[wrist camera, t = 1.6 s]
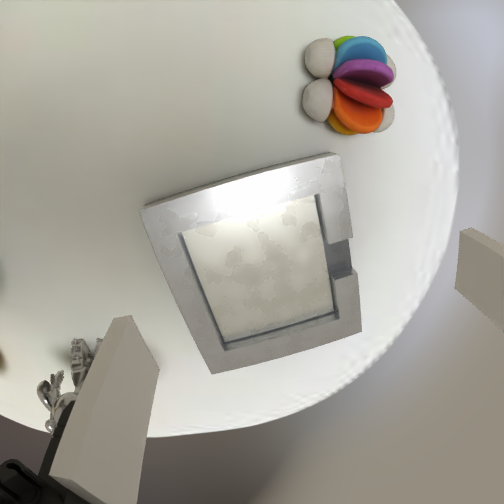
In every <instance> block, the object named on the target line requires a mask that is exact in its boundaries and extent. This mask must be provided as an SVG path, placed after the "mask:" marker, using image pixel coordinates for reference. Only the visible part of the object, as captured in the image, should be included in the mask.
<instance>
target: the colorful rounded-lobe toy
mask: <svg viewBox="0 0 504 504" xmlns="http://www.w3.org/2000/svg"><path fill="white" fill-rule="evenodd" d="M305 64H306V67H307V68H308V70H309V71H310V72H311V73H312V74H313V75H314V76H316V77H317V78H319V79H318V80H315V81H313V82H311V83H310V84H309V85H308V86H307V87H306V88H305V90H304V93H303V99H302V103H303V108H304V110H305V111H306V113H307V114H308V115H309V116H310V117H311V118H312V119H314V120H316V121H318V122H324V121H325V120H326V119H328V121H329V123H330V125H331V126H332V127H333V128H334V129H335V130H336V131H337V132H339V133H340V134H344V135H354V134H357V133H360V134H366V133H370V132H374V133H375V132H381V131H384V130H386V129H387V128H388V127H389V126H390V125H391V124H392V122H393V120H394V107H393V104H392V103H393V100H392V98H391V97H390V96H389V95H388V94H387V93H386V92H384V91H383V90H382V89H385V88H387V87H389V86H390V85H391V84H392V83H393V81H394V80H395V77H396V67H395V64H394V62H393V61H392V59H391V58H390V57H389V56H388V55H387V54H386V52H385V50H384V48H383V47H382V46H381V45H380V44H379V43H378V42H377V41H376V40H374V39H372V38H370V37H366V36H359V37H354V36H345V37H341V38H339V39H337V40H336V41H334V42H332V40H331V39H328V38H323V39H318V40H315V41H313V42H312V43H311V44H310V45H309V46H308V47H307V49H306V53H305ZM329 76H330V77H333V79H334V82H333V83H334V85H333V84H332V83H331V81H330V80H328V79H327V78H328V77H329Z"/></svg>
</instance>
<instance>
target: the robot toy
mask: <svg viewBox="0 0 504 504" xmlns="http://www.w3.org/2000/svg"><path fill="white" fill-rule="evenodd" d="M102 341H103V340H101V339H97V345H96V350H95V356H96V354H97V352H98V350H99V347H100V345H101V343H102ZM71 343H72V346H71V357H72V362H71V370H72V371H71V375H72V380H73V383H74V385H75V391H74V392H68V393H65V394H63V395H61V394H60V391H59V390H60V385H61V382H62V381H63V378H64V376H63V375H64V373H63V372H64V370H62V371H58V372H57V374H56V375H55V376H54V374H51V377H50V378H51V380H50V381H51V384H50V383H49V382H48V381H46V380H44V381H42V382H40V383H39V385H38V387H37V394H38V397H39V399H40V400H41V402H42V403H43V404H44V406H45V407H46V408H47V409H48V410H49V411H50V412H51V414H50V419H49V420H47V421H46V423H45V427H46V429H47V430H48V431H49V432H50V433H51V436H52V433H54V430H55V428H56V427H57V423H58V420H59V418H60V415H61V413H62V411H63V410H64V409H65V408H66V406H67V405H68V404H69V403H70V401H71V400H76V399H77V397H78V394H79V392H80V390H81V387H82V385H83V383H84V380H85V378H86V376H87V374H88V371H89V369H90V367H91V365H92V362H93V360H94V358H93V357H87V356H89V355H91V352H90V350H89V348H88V347H87V345H86V343H85V341H84V340H83V339H80V340H77V341H76V340H75V339H74V341H73V342H71ZM150 416H151V414H150Z"/></svg>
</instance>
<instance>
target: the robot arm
mask: <svg viewBox="0 0 504 504" xmlns="http://www.w3.org/2000/svg"><path fill="white" fill-rule="evenodd" d="M455 289H456V290H457V291H458V292H459V293H461V294H462V295H463V296H464V297H466V299H468V300H469V301H470V302H471V303H472V304H473V305H475V306H476V307H477V308H478V309H479V310H480V311H481V312H483V314H485V315H486V316H487V317H488V318H489V319H490V320H491V321H492V322H493V323H494V324H495V325H497V326H498V327H499V328H500V329H501V330H502V331H503V332H504V245H502V244H501V243H499V242H498V241H496V240H494V239H492V238H490V237H489V236H486V235H485V234H483V233H481V232H479V231H477V230H475V229H474V228H468V229H465V230H462V231H460V239H459V253H458V264H457V274H456V282H455ZM159 370H160V369H159V367H158V365H157V364H156V362H155V360H154V358H153V356H152V355H151V353H150V351H149V349H148V347H147V345H146V344H145V342H144V340H143V338H142V336H141V334H140V332H139V330H138V328H137V326H136V324H135V322H134V320H133V318H132V316H131V315H129V316H124V317H119V318H114V319H113V321H112V323H111V325H110V327H109V329H108V331H107V333H106V335H105V337H104V339H103V341H102V343H101V345H100V347H99V350H98V352H97V354H96V356H95V358H94V360H93V362H92V365H91V367H90V369H89V371H88V374H87V376H86V378H85V380H84V383H83V385H82V387H81V390H80V392H79V394H78V397H77V399H76V400H71V401H70V403H69V404H68V405H67V406H66V408H65V409H64V410H63V411H62V413H61V415H60V418H59V420H58V423H57V427H56V428H55V430H54V433H53V438H51V441H50V443H49V446H48V449H47V451H46V454H45V457H44V460H43V463H42V465H41V468H40V472H39V474H38V476H37V475H36V474H34V473H33V472H32V471H31V470H30V469H28V468H27V467H26V466H25V465H24V464H22V463H21V462H20V461H18V460H15V459H10V460H7V461H5V462H4V463H3V464H2V465H0V504H137V496H138V489H139V481H140V475H141V468H142V461H143V455H144V449H145V443H146V437H147V431H148V425H149V420H150V414H151V409H152V404H153V399H154V394H155V389H156V384H157V379H158V374H159Z"/></svg>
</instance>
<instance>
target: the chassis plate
mask: <svg viewBox="0 0 504 504" xmlns="http://www.w3.org/2000/svg"><path fill="white" fill-rule="evenodd" d="M139 214H140V216H141V219H142V222H143V224H144V227H145V229H146V232H147V234H148V237H149V240H150V242H151V245H152V247H153V249H154V252H155V254H156V257H157V259H158V262H159V264H160V266H161V269H162V271H163V273H164V276H165V278H166V280H167V283H168V285H169V287H170V289H171V292H172V294H173V296H174V298H175V301H176V303H177V305H178V307H179V309H180V311H181V314H182V316H183V318H184V320H185V322H186V324H187V326H188V328H189V330H190V333H191V335H192V337H193V339H194V341H195V343H196V345H197V347H198V349H199V351H200V353H201V355H202V357H203V359H204V360H205V362H206V364H207V366H208V368H209V370H210V372H211V374H216V373H221V372H225V371H229V370H234V369H238V368H242V367H246V366H250V365H254V364H258V363H262V362H266V361H270V360H273V359H277V358H281V357H284V356H288V355H291V354H295V353H298V352H302V351H305V350H308V349H311V348H315V347H318V346H321V345H324V344H327V343H330V342H333V341H336V340H339V339H342V338H345V337H348V336H351V335H354V334H357V333H359V332H362V326H361V310H360V297H359V286H358V276H357V272H356V271H355V270H354V269H353V268H352V265H351V257H350V249H349V242H348V239H349V238H352V237H353V234H352V226H351V220H350V213H349V207H348V200H347V194H346V189H345V183H344V177H343V172H342V167H341V162H340V157H339V154H336V153H331V152H327V153H323V154H318V155H314V156H310V157H305V158H301V159H297V160H293V161H289V162H285V163H281V164H277V165H273V166H269V167H266V168H262V169H258V170H254V171H251V172H247V173H243V174H240V175H236V176H233V177H229V178H226V179H223V180H219V181H216V182H213V183H209V184H206V185H203V186H200V187H196V188H193V189H190V190H187V191H184V192H181V193H178V194H175V195H172V196H169V197H166V198H163V199H160V200H157V201H154V202H151V203H148V204H145V205H144V206H143V207H142V208H141V209H140V210H139Z"/></svg>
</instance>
